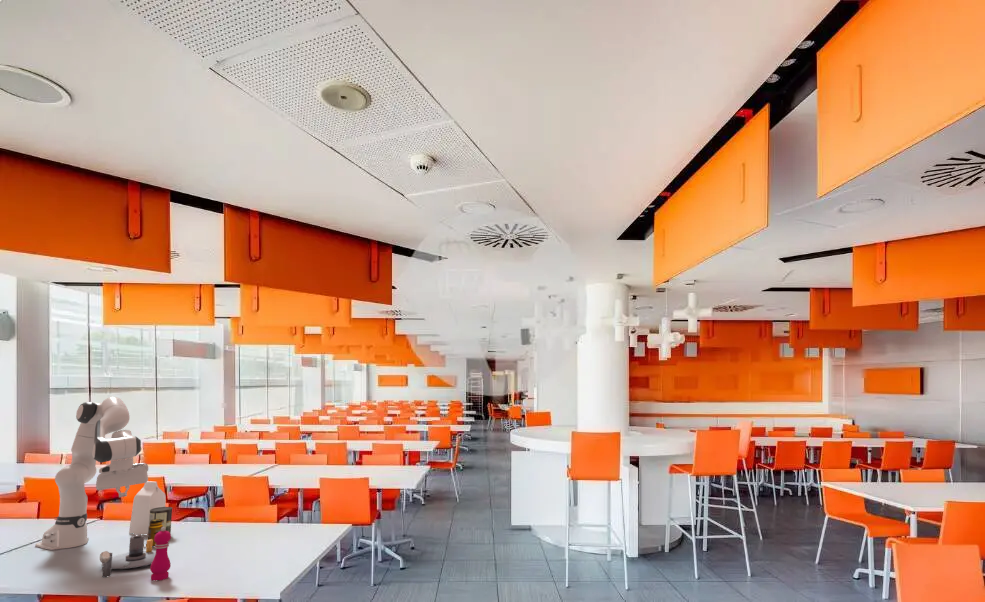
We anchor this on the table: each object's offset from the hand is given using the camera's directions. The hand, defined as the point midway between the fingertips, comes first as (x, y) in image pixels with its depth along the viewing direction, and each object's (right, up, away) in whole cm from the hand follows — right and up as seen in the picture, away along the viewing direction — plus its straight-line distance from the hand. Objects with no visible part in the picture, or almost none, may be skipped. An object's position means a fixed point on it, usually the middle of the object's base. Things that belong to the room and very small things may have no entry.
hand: (122, 496), depth 265 cm
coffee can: (-2, -32, +32) cm, 45 cm away
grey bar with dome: (+12, -23, -29) cm, 39 cm away
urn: (+13, -24, -11) cm, 29 cm away
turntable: (+12, -24, -11) cm, 29 cm away
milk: (-14, -33, +42) cm, 56 cm away
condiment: (+4, -30, +17) cm, 34 cm away
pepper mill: (+35, -23, -31) cm, 52 cm away
